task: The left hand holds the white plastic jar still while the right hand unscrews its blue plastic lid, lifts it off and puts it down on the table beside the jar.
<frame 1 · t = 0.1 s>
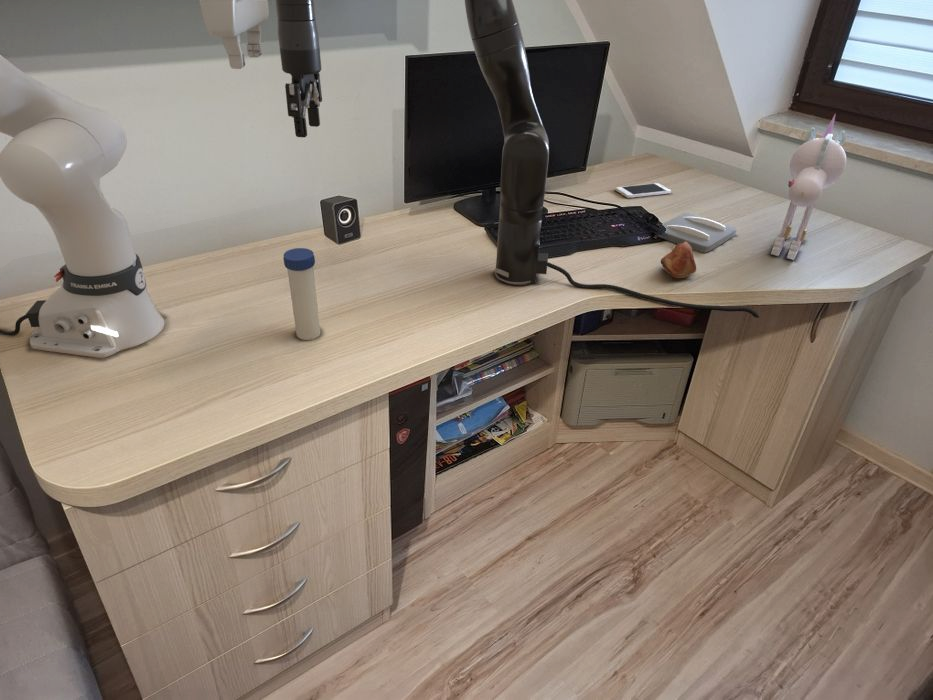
left hand: (247, 62, 95), 48 cm above the table, tool pointing down, fingers open, 8 cm apart
right hand: (308, 131, 132), 30 cm above the table, tool pointing down, fingers open, 8 cm apart
fossil: (675, 273, 149), on the table
lid: (298, 255, 113), point 16 cm above the table, screwed on, not yet turned
jar: (308, 333, 122), on the table
smartphone: (642, 192, 194), on the table
light switch: (694, 235, 168), on the table
toy: (791, 239, 168), on the table
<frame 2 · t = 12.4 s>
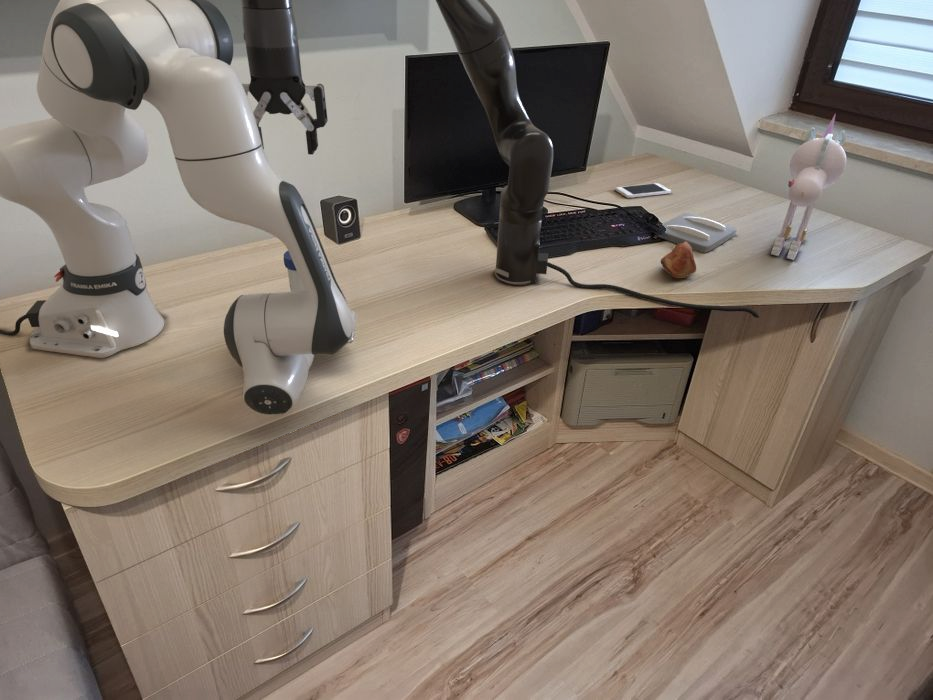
left hand: (305, 303, 119), 6 cm above the table, tool horizontal, fingers closed on jar, 4 cm apart
right hand: (285, 152, 103), 35 cm above the table, tool pointing down, fingers open, 7 cm apart
jar: (308, 333, 122), on the table, touching left hand
everything else where it was.
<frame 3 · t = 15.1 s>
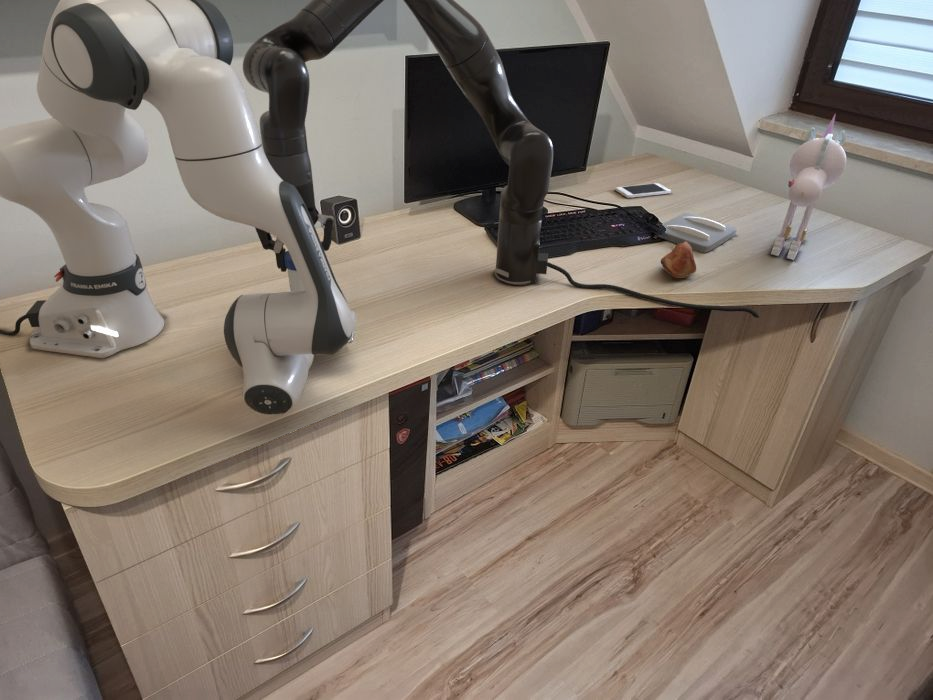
left hand: (305, 303, 119), 6 cm above the table, tool horizontal, fingers closed on jar, 4 cm apart
right hand: (300, 269, 114), 14 cm above the table, tool pointing down, fingers closed on lid, 5 cm apart
lid: (298, 255, 113), point 16 cm above the table, screwed on, not yet turned, touching right hand
jar: (308, 333, 122), on the table, touching left hand
everything else where it was.
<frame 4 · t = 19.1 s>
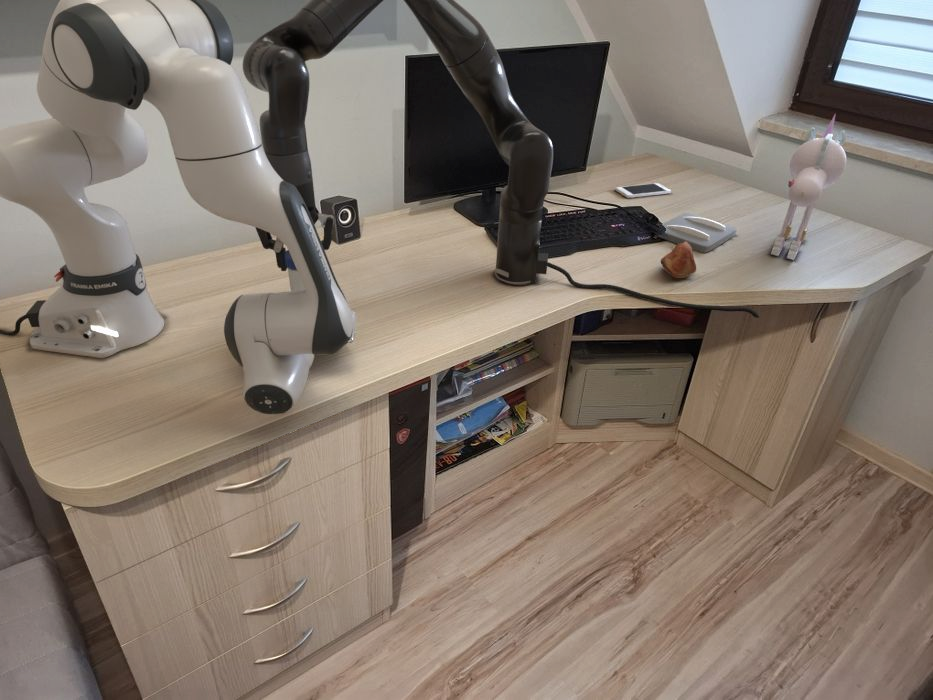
left hand: (306, 303, 119), 6 cm above the table, tool horizontal, fingers closed on jar, 4 cm apart
right hand: (300, 269, 114), 14 cm above the table, tool pointing down, fingers closed on lid, 5 cm apart
lid: (299, 255, 113), point 16 cm above the table, turned 90° so far, risen 0.1 cm, still on its thread, touching right hand
jar: (309, 333, 122), on the table, touching left hand
everything else where it was.
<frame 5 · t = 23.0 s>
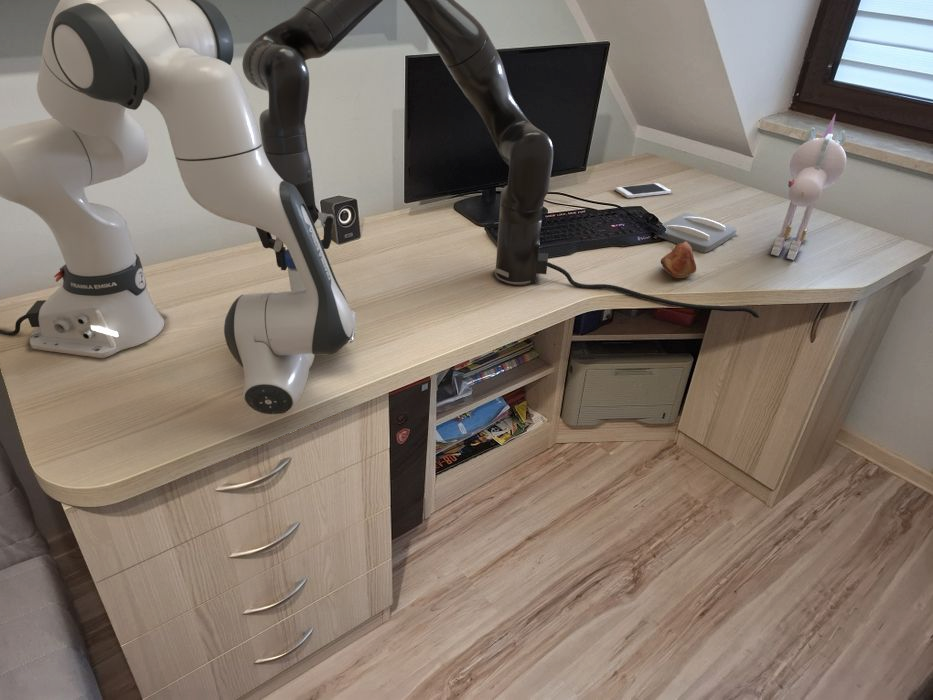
left hand: (306, 303, 119), 6 cm above the table, tool horizontal, fingers closed on jar, 4 cm apart
right hand: (300, 268, 114), 14 cm above the table, tool pointing down, fingers closed on lid, 5 cm apart
lid: (299, 254, 113), point 17 cm above the table, turned 181° so far, risen 0.3 cm, still on its thread, touching right hand
jar: (309, 333, 122), on the table, touching left hand
everything else where it was.
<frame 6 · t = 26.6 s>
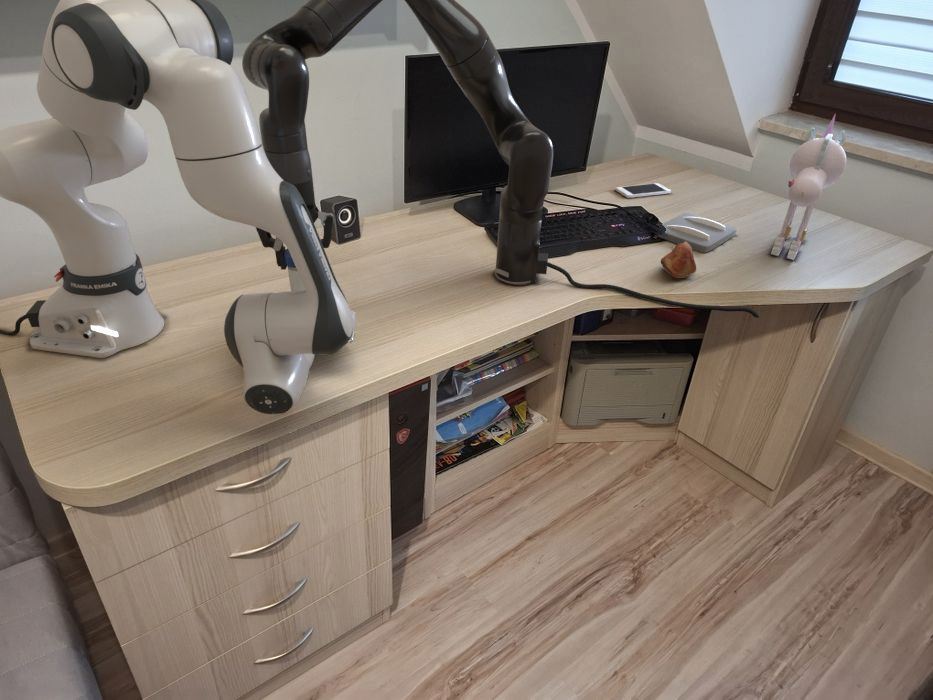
left hand: (306, 303, 119), 6 cm above the table, tool horizontal, fingers closed on jar, 4 cm apart
right hand: (300, 267, 114), 14 cm above the table, tool pointing down, fingers closed on lid, 5 cm apart
lid: (298, 253, 113), point 17 cm above the table, turned 271° so far, risen 0.5 cm, still on its thread, touching right hand
jar: (309, 333, 122), on the table, touching left hand
everything else where it was.
when the right hand's fingers open (0 cm above the table, at t = 42.2 s): lid drops 2 cm, point 2 cm above the table.
when the left hand's fingers open (6 cm above the table, at t = 43.2 s): jar stays where it is, on the table.
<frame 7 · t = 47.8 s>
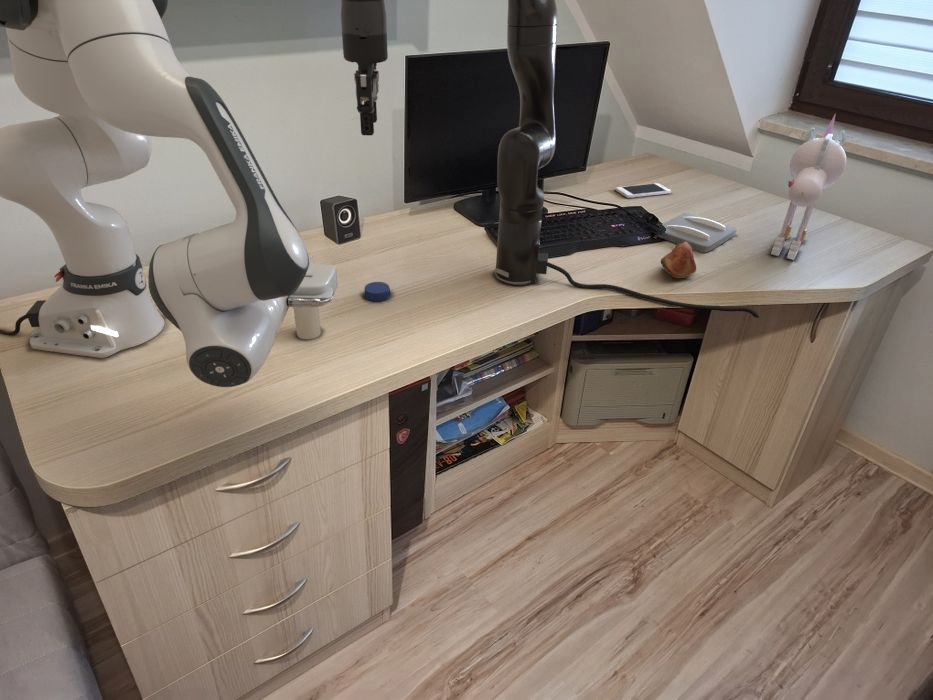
left hand: (277, 259, 99), 22 cm above the table, tool horizontal, fingers open, 8 cm apart
right hand: (369, 128, 116), 35 cm above the table, tool pointing down, fingers open, 8 cm apart
lid: (377, 288, 134), point 2 cm above the table, off its thread
jar: (309, 333, 122), on the table
everything else where it was.
at the end: lid came off its thread; lid point 1.6 cm above the table; the left hand is holding nothing; the right hand is holding nothing; jar tilted 0°; jar moved 0.2 cm from its start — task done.
